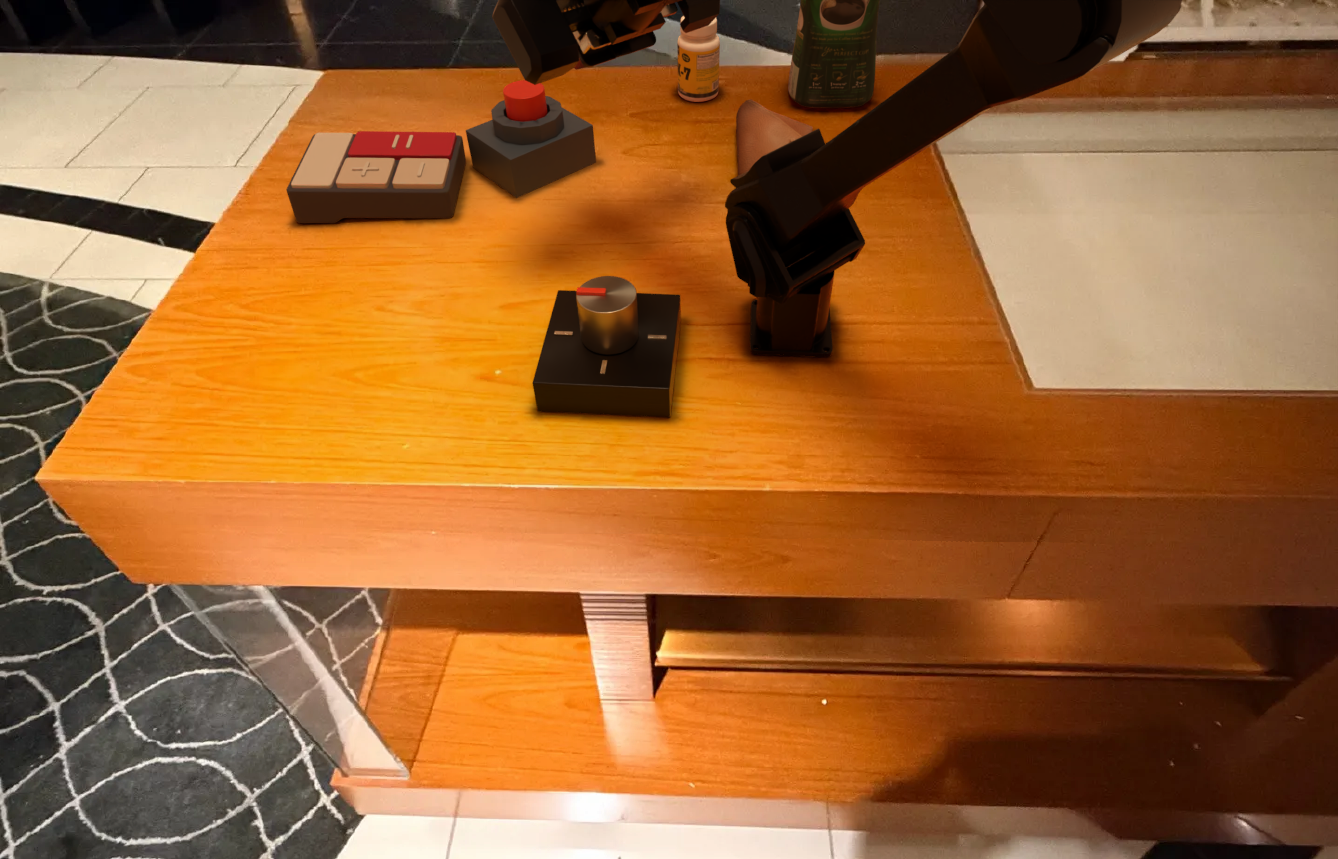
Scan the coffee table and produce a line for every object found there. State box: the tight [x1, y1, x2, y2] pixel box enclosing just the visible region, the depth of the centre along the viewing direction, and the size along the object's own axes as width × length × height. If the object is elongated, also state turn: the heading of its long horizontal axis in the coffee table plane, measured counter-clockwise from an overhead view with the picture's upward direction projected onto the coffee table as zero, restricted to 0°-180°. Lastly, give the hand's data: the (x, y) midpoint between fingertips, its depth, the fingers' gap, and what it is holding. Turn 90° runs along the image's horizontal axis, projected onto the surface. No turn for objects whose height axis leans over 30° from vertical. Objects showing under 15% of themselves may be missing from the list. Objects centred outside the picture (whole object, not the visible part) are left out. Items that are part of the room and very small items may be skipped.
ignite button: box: [502, 79, 547, 122], centre depth 84 cm, size 4×4×3 cm
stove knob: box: [575, 275, 639, 355], centre depth 64 cm, size 4×4×4 cm
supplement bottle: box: [676, 15, 721, 103], centre depth 96 cm, size 5×5×8 cm
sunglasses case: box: [735, 99, 814, 176], centre depth 86 cm, size 18×7×7 cm
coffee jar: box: [787, 0, 881, 109], centre depth 92 cm, size 10×8×19 cm
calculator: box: [286, 130, 467, 224], centre depth 85 cm, size 11×4×15 cm
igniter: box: [465, 95, 597, 199], centre depth 87 cm, size 8×10×6 cm
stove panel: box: [532, 289, 682, 418], centre depth 67 cm, size 11×10×3 cm
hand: (575, 63), depth 74 cm, fingers closed
